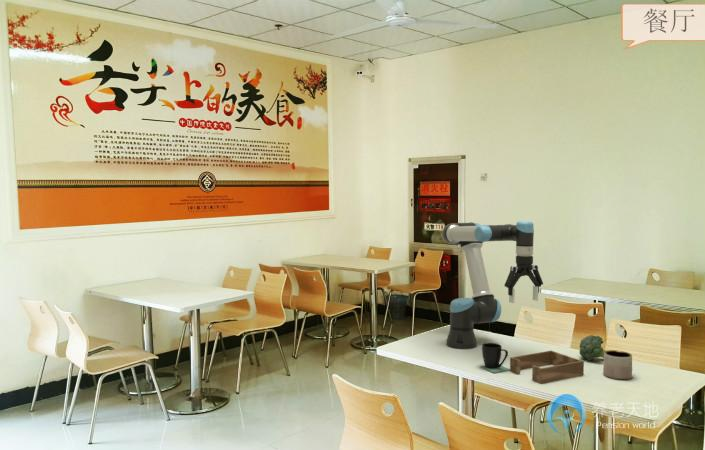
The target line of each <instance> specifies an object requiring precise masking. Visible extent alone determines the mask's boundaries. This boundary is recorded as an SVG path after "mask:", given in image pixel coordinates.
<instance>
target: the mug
mask: <svg viewBox="0 0 705 450" xmlns="http://www.w3.org/2000/svg"><path fill="white" fill-rule="evenodd" d="M481 351H482V353H481V355H482V360H483V363H484V366H485V367H487V368H492V369H494V368H499V367H501V366H503V364H504V363H505V362H506V359H507V358H508V356H509V351H508V350H507V349H502V345H501V344H499V343H495V342H486V343H485V342H484V343H482V345H481ZM502 352H504V353H505V355H504V358H503V359H502V360H501V358H502Z"/></svg>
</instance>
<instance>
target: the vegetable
mask: <svg viewBox="0 0 705 450" xmlns="http://www.w3.org/2000/svg"><path fill="white" fill-rule="evenodd" d="M603 344H604V340H603V338H602V337H601V336H599V335H593V334H591V335H588V336H585V337H584V338H582V339H581V341H580V344H579V355H580V356H581V357H582V358H584V359H587V360H588V361H589V362H590V361H592V360H593V359H597V358H603V359H604V352H605V351H608V350H607V349H606V350H605V349H604V348H603V347H602V345H603Z"/></svg>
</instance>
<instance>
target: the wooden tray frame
mask: <svg viewBox="0 0 705 450" xmlns="http://www.w3.org/2000/svg"><path fill="white" fill-rule="evenodd" d="M509 359H510V360H509V361H510V362H509V369H510V371H509V372H511V373H514V374H516V375H521V371H523V370H530V369H531V370H532V372H531V373H532V374H531V376H532V377H531V378H532V379H531V380H532V381H533V382H535V383H538V384H541V385H542V384H546V383H552V382H557V381H562V380H568V379H572V378H577V377H581V376H585V375H584V371H585V369H584V368H585V365H584V364H585V361H584V360H581V359H578V358H575V357H572V356H569V355H566V354H563V353H560V352H556V351H553V350H547V351H541V352H534V353H530V354H523V355H518V356H511V357H510V358H509ZM545 366H547V367H545Z"/></svg>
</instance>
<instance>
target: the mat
mask: <svg viewBox="0 0 705 450" xmlns="http://www.w3.org/2000/svg"><path fill="white" fill-rule="evenodd" d="M479 367H480V369H482V370H485V371H487V372H490V373H491V374H498V373H499V374H500V373H504V372H511V371H510V368H507V367H505V366H504V365H501V367H499V368H494V369H492V368H487V367H485V365H480V366H479Z"/></svg>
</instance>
